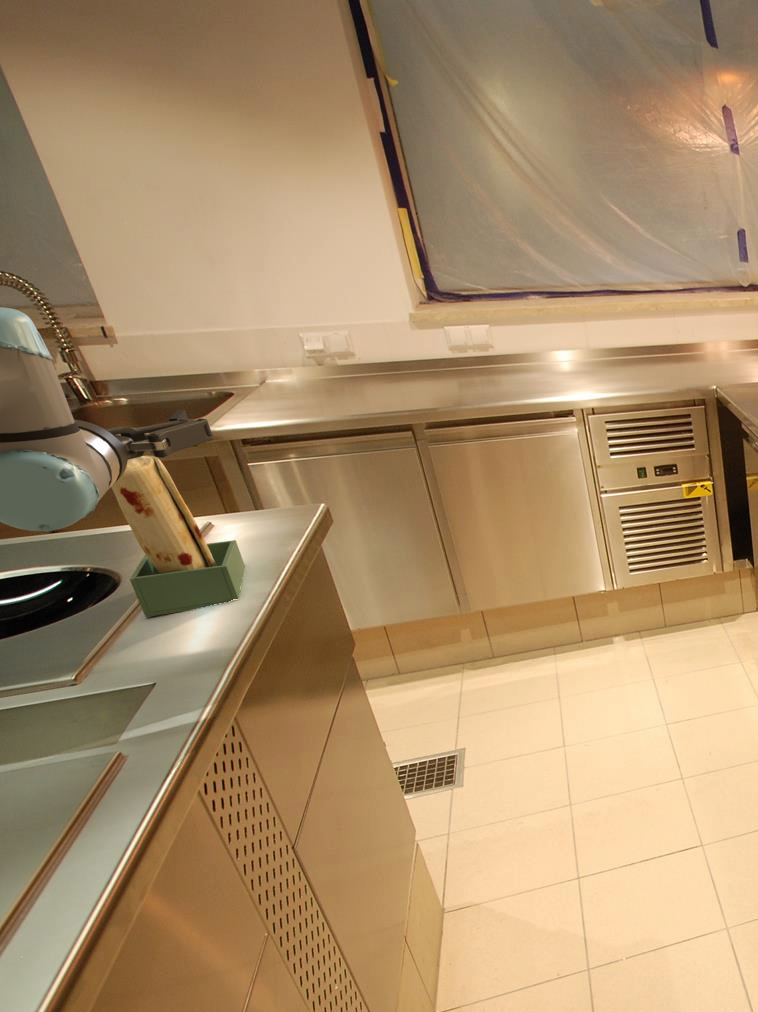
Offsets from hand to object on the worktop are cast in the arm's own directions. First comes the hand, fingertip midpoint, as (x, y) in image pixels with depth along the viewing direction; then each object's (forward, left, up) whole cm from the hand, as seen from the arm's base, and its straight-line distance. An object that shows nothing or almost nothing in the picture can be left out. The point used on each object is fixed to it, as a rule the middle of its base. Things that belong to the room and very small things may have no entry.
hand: (113, 424), depth 104 cm
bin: (0, +10, -26) cm, 28 cm away
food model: (0, +10, -26) cm, 27 cm away
